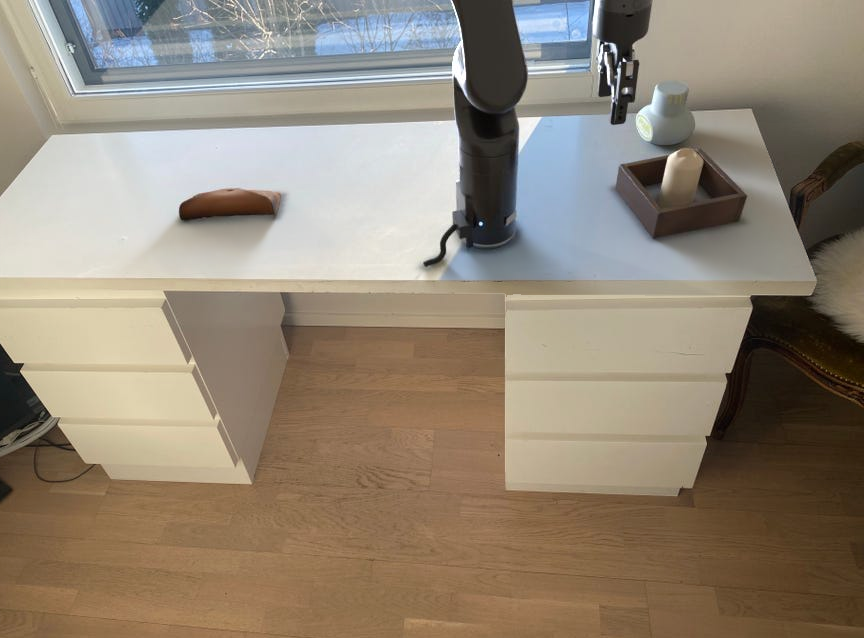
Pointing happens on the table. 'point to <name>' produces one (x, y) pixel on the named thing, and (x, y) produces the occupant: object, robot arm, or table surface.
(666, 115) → the air freshener
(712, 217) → the walnut box
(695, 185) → the candle
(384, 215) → the table surface
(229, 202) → the sunglasses case
